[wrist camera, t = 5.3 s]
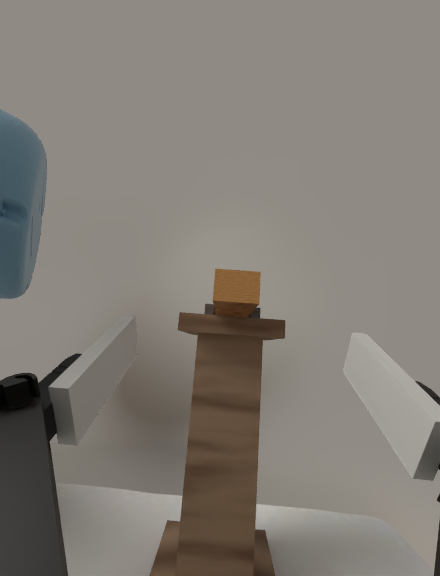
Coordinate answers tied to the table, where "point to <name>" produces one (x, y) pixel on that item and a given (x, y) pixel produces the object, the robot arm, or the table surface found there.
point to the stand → (221, 452)
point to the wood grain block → (236, 292)
